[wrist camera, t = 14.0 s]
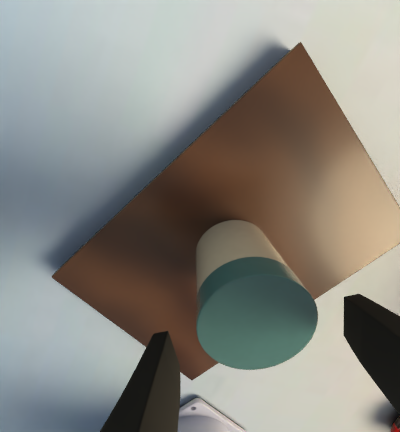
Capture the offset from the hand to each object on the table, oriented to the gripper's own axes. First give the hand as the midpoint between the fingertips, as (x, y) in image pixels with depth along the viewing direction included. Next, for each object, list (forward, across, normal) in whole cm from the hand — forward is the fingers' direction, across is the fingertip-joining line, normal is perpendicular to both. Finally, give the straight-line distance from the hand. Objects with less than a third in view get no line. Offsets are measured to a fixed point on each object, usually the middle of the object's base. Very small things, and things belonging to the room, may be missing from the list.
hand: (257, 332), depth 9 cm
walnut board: (+7, 0, 0) cm, 7 cm away
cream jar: (+6, 0, 0) cm, 6 cm away
